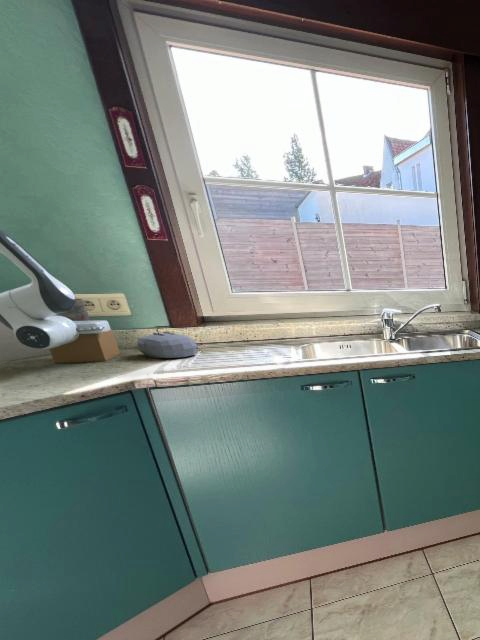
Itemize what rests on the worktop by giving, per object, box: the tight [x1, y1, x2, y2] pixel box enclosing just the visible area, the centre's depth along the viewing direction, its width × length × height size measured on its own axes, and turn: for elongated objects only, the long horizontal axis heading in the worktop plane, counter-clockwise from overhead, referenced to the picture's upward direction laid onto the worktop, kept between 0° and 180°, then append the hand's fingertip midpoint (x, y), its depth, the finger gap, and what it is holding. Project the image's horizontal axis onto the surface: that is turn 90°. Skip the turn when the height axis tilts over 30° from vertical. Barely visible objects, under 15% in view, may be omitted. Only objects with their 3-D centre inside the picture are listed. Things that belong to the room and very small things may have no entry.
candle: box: [58, 298, 91, 321], centre depth 170 cm, size 8×7×20 cm
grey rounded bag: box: [136, 331, 198, 359], centre depth 181 cm, size 15×8×20 cm
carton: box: [48, 327, 121, 364], centre depth 173 cm, size 13×13×10 cm
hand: (78, 324), depth 171 cm, fingers closed on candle, 7 cm apart
